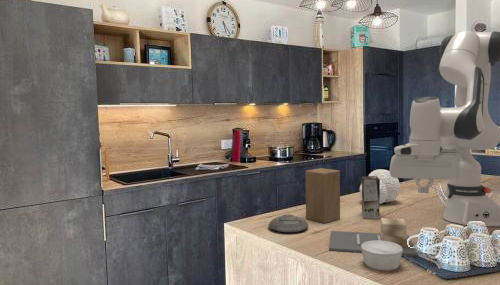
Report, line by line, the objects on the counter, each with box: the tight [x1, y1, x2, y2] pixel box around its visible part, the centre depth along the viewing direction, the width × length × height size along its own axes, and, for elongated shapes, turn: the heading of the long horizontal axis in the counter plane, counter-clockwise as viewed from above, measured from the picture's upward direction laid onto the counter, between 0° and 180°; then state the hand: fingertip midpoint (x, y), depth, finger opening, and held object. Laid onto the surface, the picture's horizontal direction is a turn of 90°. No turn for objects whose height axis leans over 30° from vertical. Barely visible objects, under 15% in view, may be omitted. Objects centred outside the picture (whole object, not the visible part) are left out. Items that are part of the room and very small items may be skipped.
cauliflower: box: [359, 168, 401, 205], centre depth 181 cm, size 20×18×16 cm
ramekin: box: [361, 240, 403, 272], centre depth 108 cm, size 11×11×5 cm
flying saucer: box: [268, 214, 309, 233], centre depth 144 cm, size 15×15×6 cm
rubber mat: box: [328, 230, 419, 258], centre depth 126 cm, size 26×18×1 cm
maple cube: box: [380, 217, 408, 247], centre depth 124 cm, size 7×7×7 cm
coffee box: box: [361, 175, 381, 220], centre depth 158 cm, size 9×6×16 cm
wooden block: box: [305, 167, 341, 224], centre depth 155 cm, size 10×10×20 cm
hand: (423, 192), depth 120 cm, fingers closed
